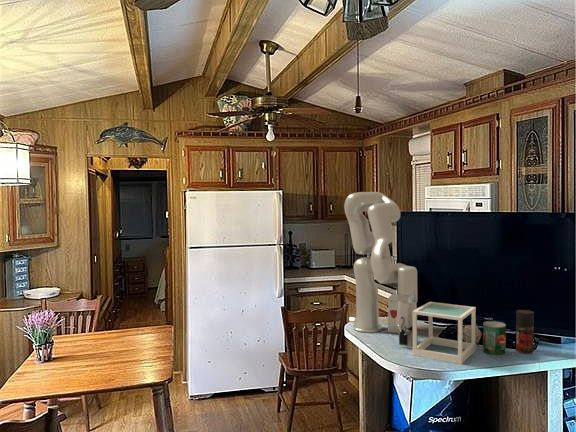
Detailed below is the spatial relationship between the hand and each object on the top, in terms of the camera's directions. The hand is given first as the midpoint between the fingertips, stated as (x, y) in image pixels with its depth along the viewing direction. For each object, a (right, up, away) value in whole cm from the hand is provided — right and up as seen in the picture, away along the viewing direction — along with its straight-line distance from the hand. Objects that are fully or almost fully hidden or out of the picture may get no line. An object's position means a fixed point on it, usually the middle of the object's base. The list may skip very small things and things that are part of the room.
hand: (407, 341), depth 202 cm
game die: (+25, -1, -1) cm, 25 cm away
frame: (+11, -2, -11) cm, 16 cm away
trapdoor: (+11, +14, -12) cm, 21 cm away
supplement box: (+1, 0, +19) cm, 19 cm away
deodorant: (+41, -1, -11) cm, 43 cm away
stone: (0, -1, 0) cm, 1 cm away
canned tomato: (+29, -2, -12) cm, 32 cm away
